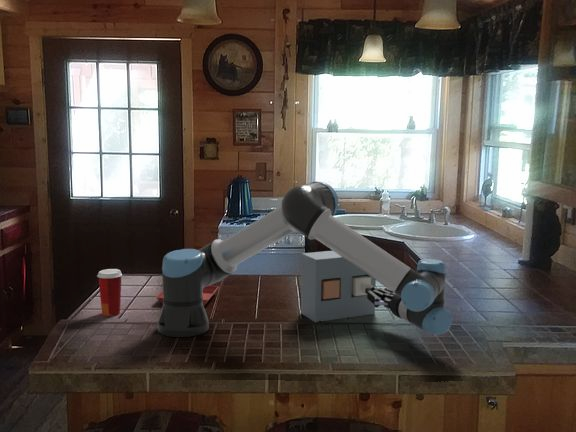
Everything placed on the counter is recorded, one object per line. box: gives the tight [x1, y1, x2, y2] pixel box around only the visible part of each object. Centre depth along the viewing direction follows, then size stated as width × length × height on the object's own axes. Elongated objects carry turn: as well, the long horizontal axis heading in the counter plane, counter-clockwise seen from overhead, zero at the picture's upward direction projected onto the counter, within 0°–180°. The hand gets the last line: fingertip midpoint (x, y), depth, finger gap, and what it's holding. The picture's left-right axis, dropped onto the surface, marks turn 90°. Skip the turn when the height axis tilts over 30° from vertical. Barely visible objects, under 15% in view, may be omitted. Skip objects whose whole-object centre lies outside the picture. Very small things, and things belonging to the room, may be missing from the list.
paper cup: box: [96, 268, 123, 317], centre depth 202 cm, size 8×8×14 cm
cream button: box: [352, 275, 371, 296], centre depth 203 cm, size 5×6×6 cm
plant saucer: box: [155, 285, 219, 307], centre depth 220 cm, size 18×18×3 cm
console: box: [300, 250, 377, 323], centre depth 204 cm, size 10×22×20 cm, turn 115°
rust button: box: [321, 278, 340, 299], centre depth 199 cm, size 5×6×6 cm
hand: (364, 287), depth 200 cm, fingers closed
